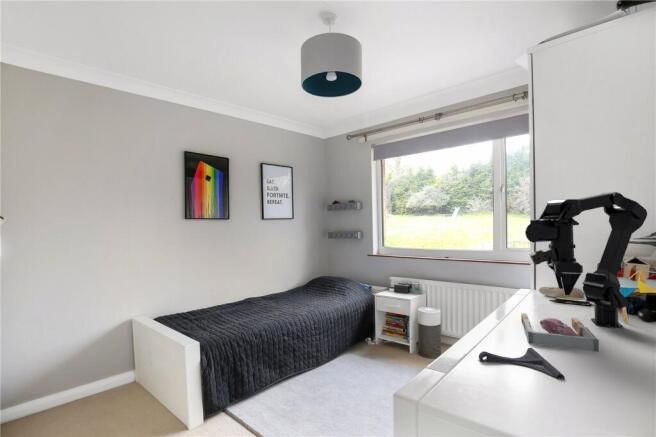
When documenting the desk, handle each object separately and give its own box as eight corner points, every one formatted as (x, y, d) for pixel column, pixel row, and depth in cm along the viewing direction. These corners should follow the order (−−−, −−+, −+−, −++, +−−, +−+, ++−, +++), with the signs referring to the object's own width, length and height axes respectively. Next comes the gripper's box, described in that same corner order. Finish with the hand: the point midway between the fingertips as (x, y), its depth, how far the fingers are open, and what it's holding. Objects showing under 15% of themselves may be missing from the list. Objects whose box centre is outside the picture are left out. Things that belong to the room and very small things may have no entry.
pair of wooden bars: (521, 320, 107) (521, 313, 107) (577, 326, 101) (577, 318, 101) (524, 330, 98) (524, 321, 98) (586, 337, 92) (586, 328, 92)
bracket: (471, 351, 85) (471, 340, 85) (534, 354, 83) (533, 343, 83) (489, 378, 71) (488, 365, 71) (564, 382, 68) (564, 369, 68)
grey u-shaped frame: (524, 330, 98) (524, 320, 98) (587, 337, 91) (586, 327, 91) (528, 343, 88) (528, 331, 88) (598, 351, 81) (598, 339, 82)
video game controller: (544, 339, 95) (533, 318, 95) (557, 331, 95) (546, 310, 95) (573, 352, 85) (561, 329, 85) (587, 344, 85) (575, 320, 85)
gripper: (527, 238, 112) (529, 284, 111) (534, 243, 95) (536, 296, 95) (567, 238, 107) (569, 286, 107) (582, 243, 90) (584, 299, 90)
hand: (564, 291), depth 100 cm, fingers open, 9 cm apart
